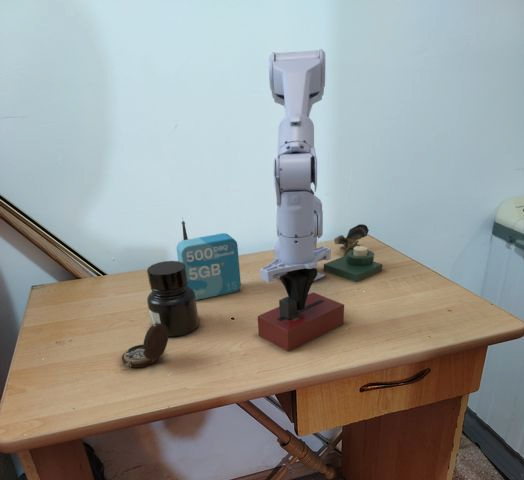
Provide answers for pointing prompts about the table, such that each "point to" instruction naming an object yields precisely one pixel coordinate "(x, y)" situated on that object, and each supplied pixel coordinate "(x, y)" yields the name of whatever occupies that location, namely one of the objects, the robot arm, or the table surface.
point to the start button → (360, 251)
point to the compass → (147, 348)
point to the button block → (354, 266)
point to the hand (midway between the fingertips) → (297, 307)
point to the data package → (210, 264)
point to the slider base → (301, 322)
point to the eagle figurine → (352, 237)
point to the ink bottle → (172, 298)
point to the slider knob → (288, 307)
